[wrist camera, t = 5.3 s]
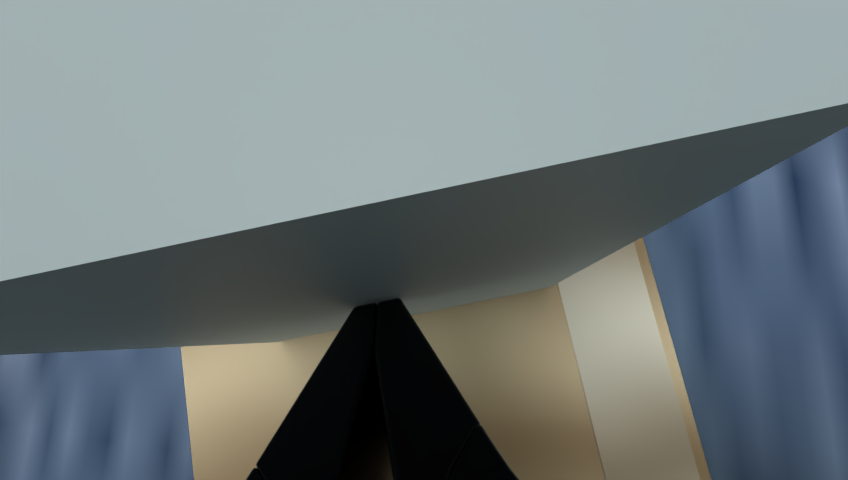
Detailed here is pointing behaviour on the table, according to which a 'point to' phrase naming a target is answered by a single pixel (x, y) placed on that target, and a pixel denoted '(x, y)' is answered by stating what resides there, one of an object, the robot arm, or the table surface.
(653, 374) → the gauge track
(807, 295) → the table surface
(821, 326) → the table surface
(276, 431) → the robot arm
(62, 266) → the grey block
